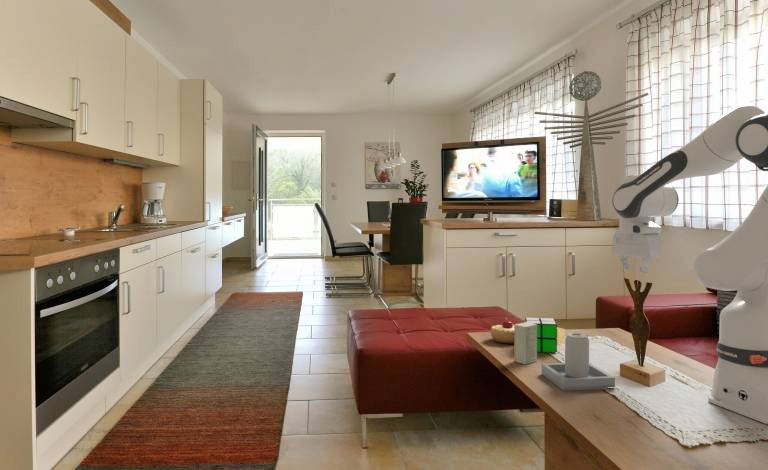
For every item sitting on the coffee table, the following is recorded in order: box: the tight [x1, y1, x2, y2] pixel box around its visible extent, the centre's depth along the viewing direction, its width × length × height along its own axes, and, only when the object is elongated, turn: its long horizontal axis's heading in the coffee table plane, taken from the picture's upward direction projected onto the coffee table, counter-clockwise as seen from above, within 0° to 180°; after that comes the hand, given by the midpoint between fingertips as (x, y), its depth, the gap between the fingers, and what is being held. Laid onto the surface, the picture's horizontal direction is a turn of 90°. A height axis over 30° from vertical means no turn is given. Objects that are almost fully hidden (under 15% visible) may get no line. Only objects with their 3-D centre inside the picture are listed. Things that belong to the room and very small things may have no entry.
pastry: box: [490, 316, 515, 345], centre depth 188 cm, size 12×12×9 cm
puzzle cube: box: [524, 317, 558, 354], centre depth 177 cm, size 10×10×10 cm
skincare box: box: [513, 321, 538, 365], centre depth 162 cm, size 6×4×12 cm
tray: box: [541, 362, 616, 392], centre depth 143 cm, size 14×14×3 cm
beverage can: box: [564, 332, 590, 378], centre depth 143 cm, size 6×6×12 cm
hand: (634, 271), depth 158 cm, fingers open, 8 cm apart
